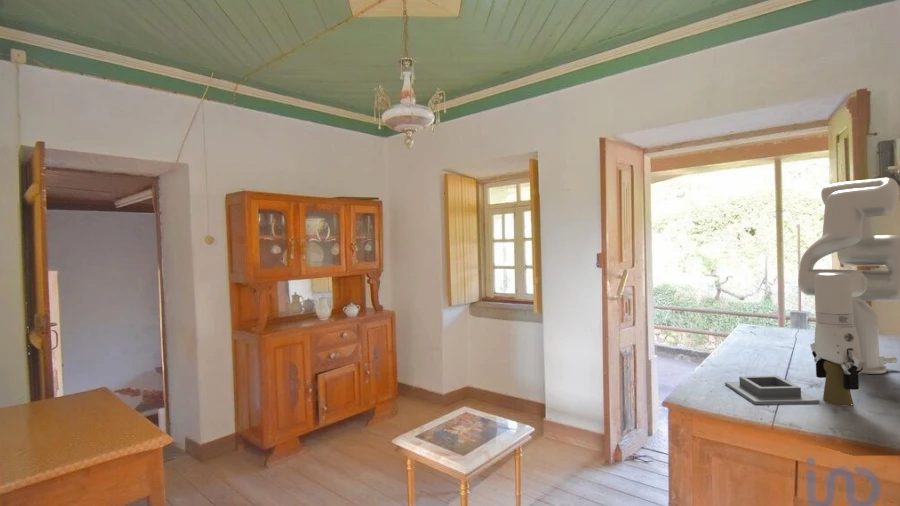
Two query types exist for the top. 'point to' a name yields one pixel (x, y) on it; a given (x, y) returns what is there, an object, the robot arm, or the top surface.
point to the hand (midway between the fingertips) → (836, 383)
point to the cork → (835, 385)
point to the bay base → (770, 390)
